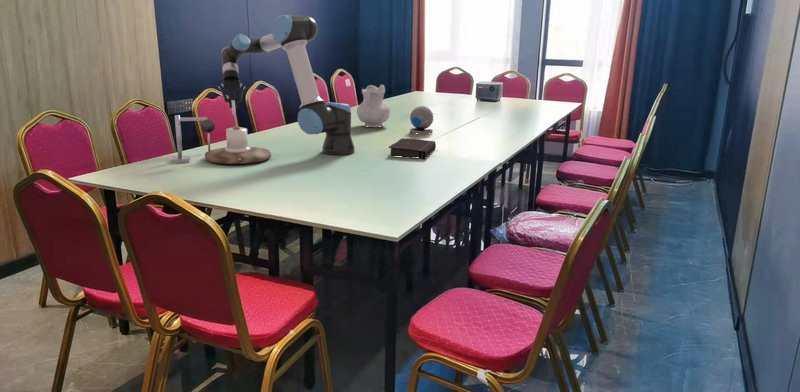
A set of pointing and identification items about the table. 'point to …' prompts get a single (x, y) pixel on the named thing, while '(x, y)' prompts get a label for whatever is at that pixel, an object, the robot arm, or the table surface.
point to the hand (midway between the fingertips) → (234, 113)
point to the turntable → (238, 156)
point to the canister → (237, 140)
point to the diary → (412, 148)
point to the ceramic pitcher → (373, 107)
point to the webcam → (421, 120)
